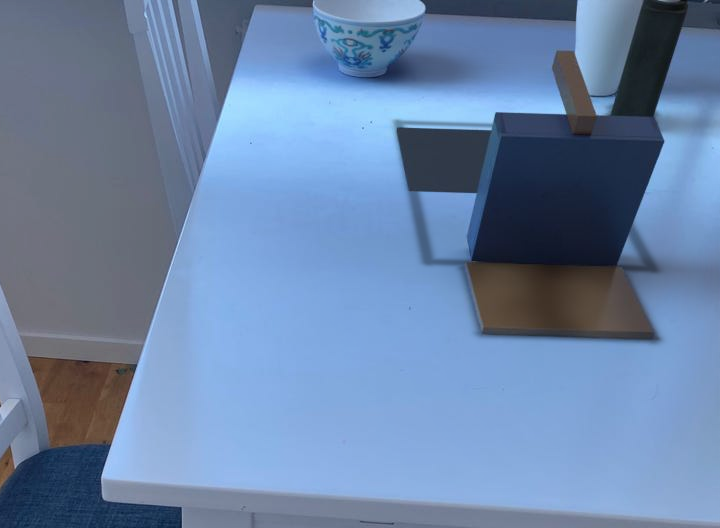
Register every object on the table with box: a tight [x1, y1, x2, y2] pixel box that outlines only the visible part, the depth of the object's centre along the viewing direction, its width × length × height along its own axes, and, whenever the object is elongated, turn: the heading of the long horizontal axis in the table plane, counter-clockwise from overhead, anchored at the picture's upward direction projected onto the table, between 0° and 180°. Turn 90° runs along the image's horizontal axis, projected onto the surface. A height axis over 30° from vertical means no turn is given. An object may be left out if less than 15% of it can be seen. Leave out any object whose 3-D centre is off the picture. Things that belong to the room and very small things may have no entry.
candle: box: [609, 0, 689, 117], centre depth 110 cm, size 5×5×25 cm
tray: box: [466, 49, 665, 267], centre depth 88 cm, size 14×14×12 cm
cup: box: [574, 0, 644, 97], centre depth 122 cm, size 10×10×14 cm
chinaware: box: [312, 0, 427, 78], centre depth 128 cm, size 15×15×8 cm
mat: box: [396, 126, 492, 194], centre depth 104 cm, size 22×36×1 cm, turn 178°
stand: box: [464, 261, 655, 340], centre depth 87 cm, size 15×12×2 cm
